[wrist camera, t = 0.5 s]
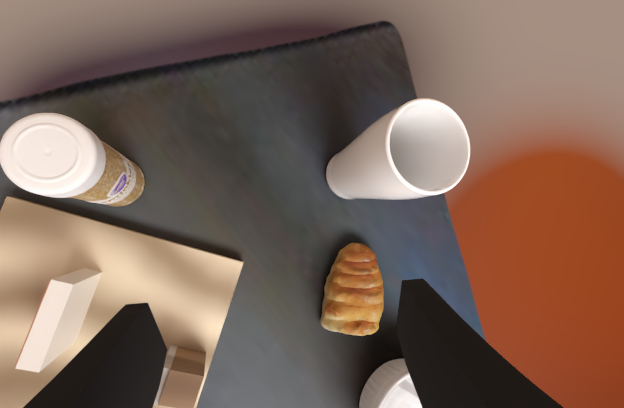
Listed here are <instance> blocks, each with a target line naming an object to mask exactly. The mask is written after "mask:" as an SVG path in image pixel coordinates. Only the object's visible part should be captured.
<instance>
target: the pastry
mask: <svg viewBox="0 0 624 408" xmlns="http://www.w3.org/2000/svg"><path fill="white" fill-rule="evenodd" d="M324 291H325V296H324V299H323V305H322V316H321V325H322V326H323V327H324V328H325V329H327V330H330V331H333V332H341V333H344V334H351V335H358V336H364V335H367V334H368V335H371V334H373V333H375V332H376V331H377V330H378V328H379V321H380V318H381V315H382V312H383V308H384V303H383V295H384V289H383V280H382V278H381V272H380V270H379V267H378V263H377V259H376V256H375V254H374V252H373V251H372V250H371V249H370V248H369V247H367V246H366V245H364V244H361V243H350V244H348V245H347V246H346V247H344V248H342V249H341V250H340V251H339V253H338V256H337V258H336V260H335V263H334V264H333V266H332V267H331V271H330V274H329V275H328V277H327V278H326V284H325V288H324Z"/></svg>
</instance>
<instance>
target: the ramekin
mask: <svg viewBox="0 0 624 408" xmlns="http://www.w3.org/2000/svg"><path fill="white" fill-rule="evenodd" d="M359 408H422V405H421V403H420V400H419V398H418V395H417V393H416V390H415V387H414V385H413V382H412V380H411V377H410V374H409V372H408V369H407V366H406V364H405V360H404V358H403V359H395V360H391V361H388V362H386V363H384V364H383V365H381V366H380V367H379V368H378V369H377V370H375V371H374V372H373V374H372V375H371V376H370V377H369V379H368V380H367V382H366V384H365V386H364V389H363V391H362V394H361V397H360V403H359Z"/></svg>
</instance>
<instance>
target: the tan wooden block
mask: <svg viewBox="0 0 624 408" xmlns="http://www.w3.org/2000/svg"><path fill="white" fill-rule="evenodd" d="M205 360H206V352H203V351H198V350H193V349H188V348H183V347H179V346H174V345H171V346H170V348H169V351H168V353H167V356H166V359H165V364H164V369H163V373H162V377H161V382H160V386H159V389H158V393H157V396H156V399H155V402H154V403H158V405H161V406H167V407H173V408H194V405H195V402H196V399H197V396H198V393H199V390H200V387H201V384H202V381H203V378H204V371H205Z"/></svg>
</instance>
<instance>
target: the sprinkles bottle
mask: <svg viewBox="0 0 624 408" xmlns="http://www.w3.org/2000/svg"><path fill="white" fill-rule="evenodd" d="M0 164H1V167H2V168H3V171H4V172H5V174H6V175H7V176H8V178H9V179H10V180H11V181H12V182H14V183H15V184H16V185H17V186H19V187H20V188H22V189H24V190H26V191H29V192H32V193H35V194H39V195H43V196H48V197H55V198H66V197H71V198H76V199H81V200H85V201H87V202H93V203H99V204H106V205H109V206H115V207H117V206H125V205H128V204H130V203H132V202H134V201H135V200H136V199H137V198H138V197H139V196H140V195H141V194H142V192H143V190H144V185H145V180H144V175H143V173H142V171H141V169H140V168H139V167H138V166H137V165H136V164H135V163H134V162H132V161H130V160H128V159H127V158H126V157H124V156H123V155H122V154H120V153H119V152H117V151H116V150H114V149H113V148H112V147H110V146H109V145H107V144H106V143H104V142H102V141H101V140H99V139H98V137H97V136H96V135H95V134H94V133H93V132H92V131H91V130H90V129H88V128H87V127H85V126H84V125H83V124H81V123H79V122H78V121H76V120H74V119H72V118H70V117H68V116H65V115H61V114H57V113H37V114H33V115H29V116H27V117H24V118H22V119H20V120H18V121H17V122H15V123H14V124H13V125H12V126H11V127H10V128H9V129H8V130H7V131H6V132H5V134H4V135H3V137H2V140H1V142H0Z"/></svg>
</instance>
